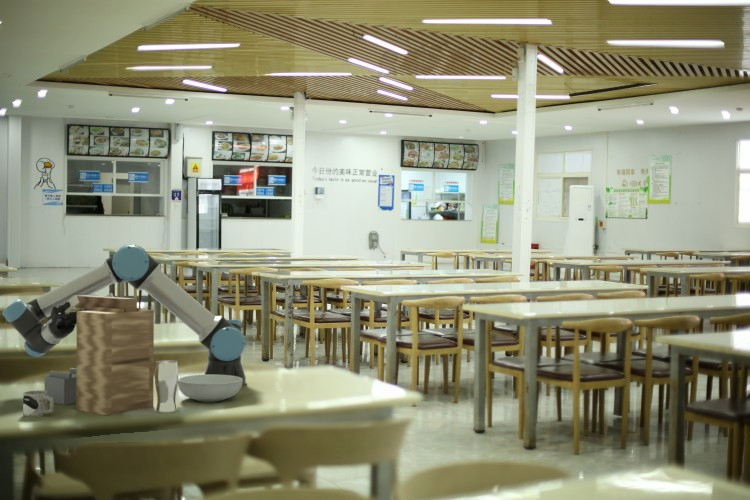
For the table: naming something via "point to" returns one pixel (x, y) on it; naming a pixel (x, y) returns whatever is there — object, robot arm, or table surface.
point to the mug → (36, 403)
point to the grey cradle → (61, 386)
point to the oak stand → (114, 360)
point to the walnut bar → (106, 302)
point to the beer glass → (166, 385)
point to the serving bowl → (210, 387)
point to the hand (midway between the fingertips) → (95, 297)
